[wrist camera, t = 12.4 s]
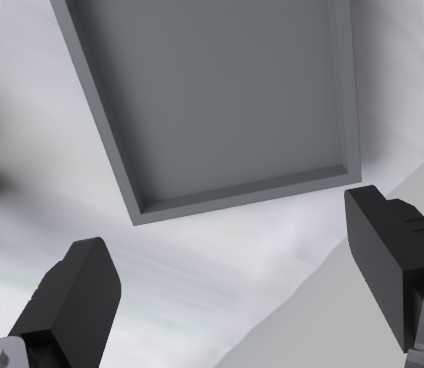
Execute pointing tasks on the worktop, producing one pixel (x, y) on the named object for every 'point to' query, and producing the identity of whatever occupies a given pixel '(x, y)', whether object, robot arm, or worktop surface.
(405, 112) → the worktop surface
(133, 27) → the tray
